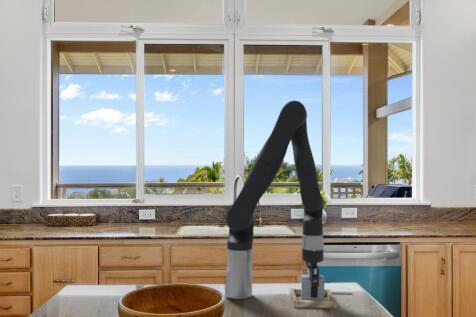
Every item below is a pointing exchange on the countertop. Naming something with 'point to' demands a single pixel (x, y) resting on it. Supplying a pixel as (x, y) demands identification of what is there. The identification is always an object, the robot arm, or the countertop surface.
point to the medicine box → (307, 288)
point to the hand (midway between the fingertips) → (312, 293)
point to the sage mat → (337, 288)
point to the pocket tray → (311, 303)
